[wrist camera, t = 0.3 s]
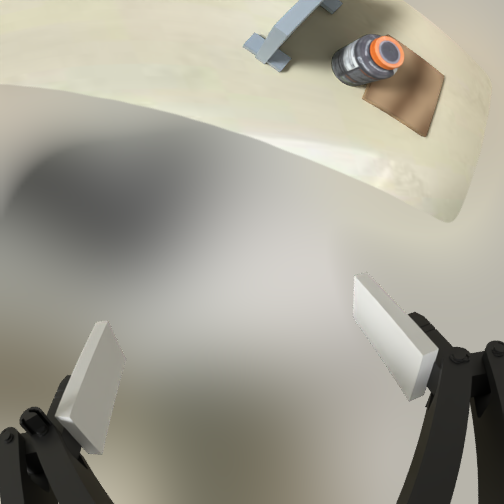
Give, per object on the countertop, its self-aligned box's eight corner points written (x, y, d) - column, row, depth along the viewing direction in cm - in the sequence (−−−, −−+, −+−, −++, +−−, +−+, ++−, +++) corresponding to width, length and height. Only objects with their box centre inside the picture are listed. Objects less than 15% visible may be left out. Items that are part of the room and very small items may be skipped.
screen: (277, 73, 35) (306, 49, 23) (241, 48, 33) (254, 13, 21) (341, 4, 31) (384, -29, 19) (308, -20, 29) (341, -62, 17)
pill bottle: (375, 70, 36) (420, 58, 25) (351, 94, 37) (394, 86, 27) (347, 41, 34) (386, 19, 23) (322, 64, 35) (357, 45, 25)
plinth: (362, 98, 37) (365, 98, 36) (384, 36, 34) (388, 34, 32) (421, 136, 40) (425, 136, 39) (440, 76, 36) (444, 76, 35)
